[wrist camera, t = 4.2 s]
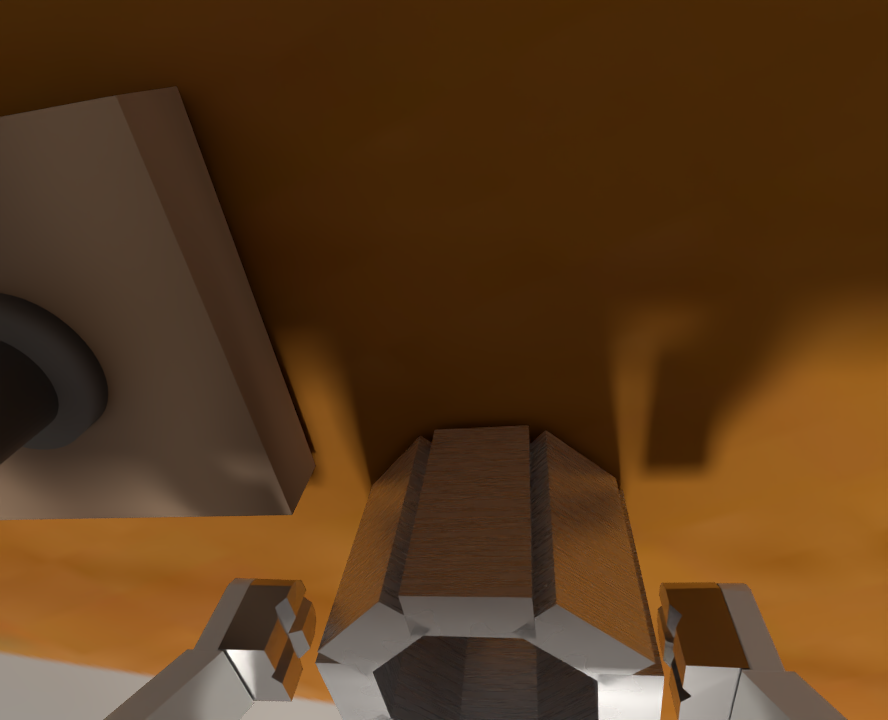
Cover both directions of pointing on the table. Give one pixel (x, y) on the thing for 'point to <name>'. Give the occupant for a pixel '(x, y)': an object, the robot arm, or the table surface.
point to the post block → (131, 327)
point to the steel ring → (493, 590)
